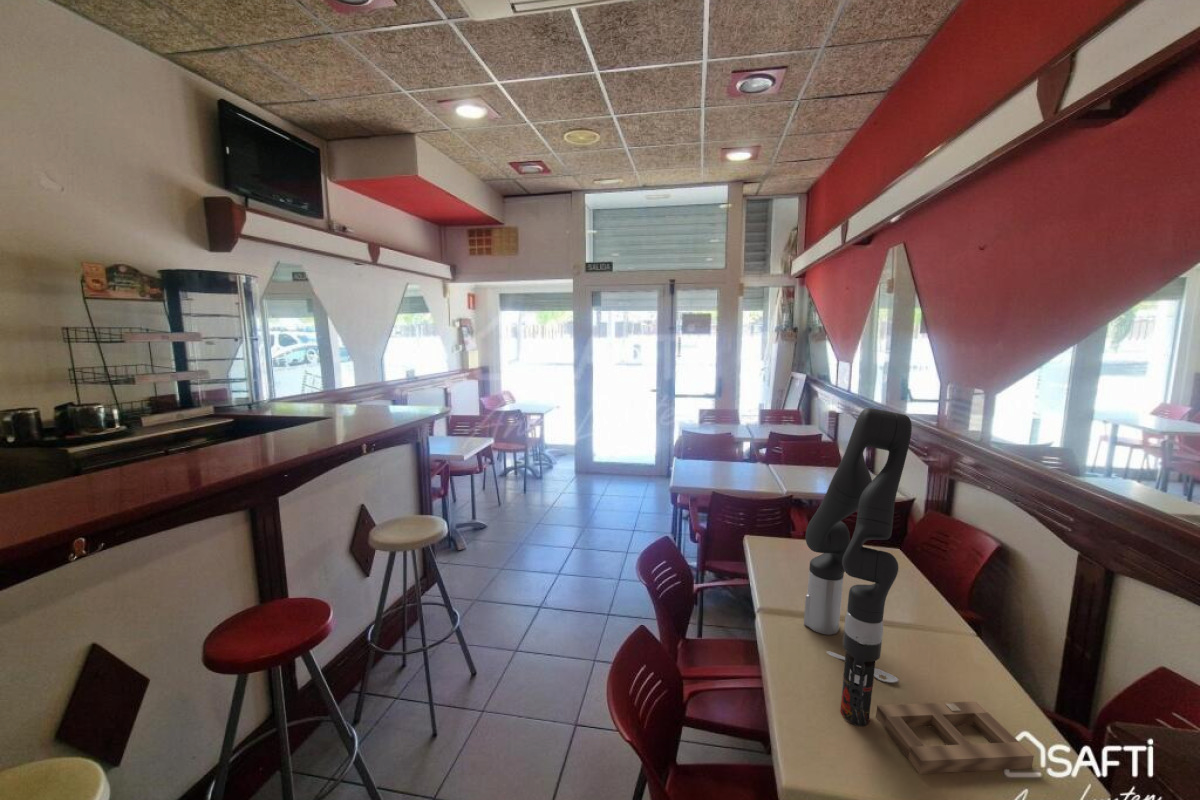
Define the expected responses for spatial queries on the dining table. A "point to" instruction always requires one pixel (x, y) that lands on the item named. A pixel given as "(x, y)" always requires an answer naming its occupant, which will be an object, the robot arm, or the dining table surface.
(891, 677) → the spoon
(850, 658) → the deodorant
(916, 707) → the wooden frame
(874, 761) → the dining table surface
